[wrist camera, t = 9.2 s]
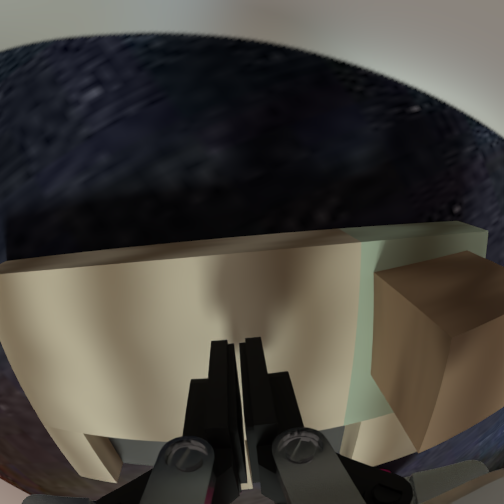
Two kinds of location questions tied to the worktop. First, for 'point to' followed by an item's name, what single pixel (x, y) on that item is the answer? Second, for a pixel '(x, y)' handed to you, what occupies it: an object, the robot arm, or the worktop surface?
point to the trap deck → (208, 334)
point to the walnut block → (440, 344)
